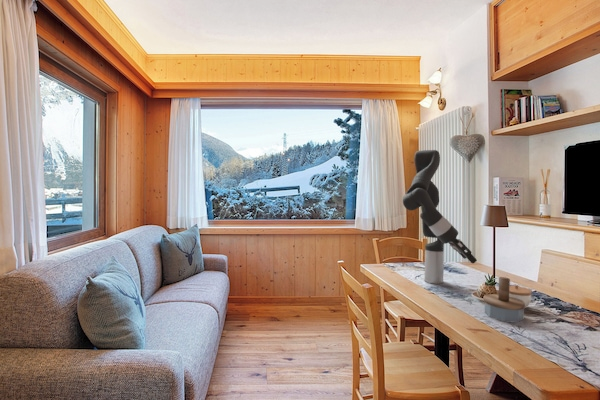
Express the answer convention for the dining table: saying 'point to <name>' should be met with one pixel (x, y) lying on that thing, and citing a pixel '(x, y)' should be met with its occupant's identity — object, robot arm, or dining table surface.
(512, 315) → the ceramic bowl
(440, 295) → the dining table surface
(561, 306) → the dining table surface
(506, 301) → the walnut lid
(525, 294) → the lidded jar
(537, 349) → the dining table surface
